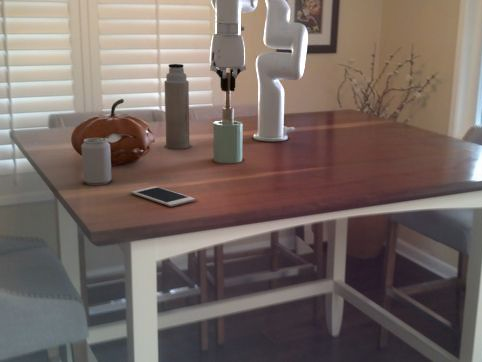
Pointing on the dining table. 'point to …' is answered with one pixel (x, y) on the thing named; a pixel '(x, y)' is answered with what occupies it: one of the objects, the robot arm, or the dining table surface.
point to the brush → (228, 105)
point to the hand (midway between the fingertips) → (227, 90)
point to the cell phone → (163, 196)
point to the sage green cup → (227, 142)
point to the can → (96, 161)
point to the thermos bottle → (177, 108)
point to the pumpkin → (116, 135)
